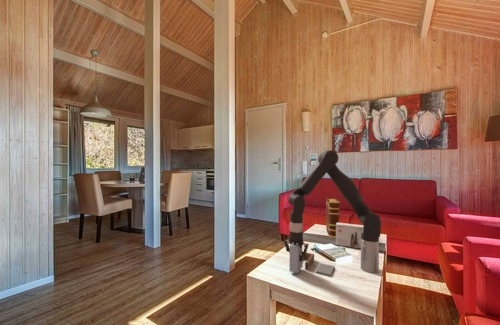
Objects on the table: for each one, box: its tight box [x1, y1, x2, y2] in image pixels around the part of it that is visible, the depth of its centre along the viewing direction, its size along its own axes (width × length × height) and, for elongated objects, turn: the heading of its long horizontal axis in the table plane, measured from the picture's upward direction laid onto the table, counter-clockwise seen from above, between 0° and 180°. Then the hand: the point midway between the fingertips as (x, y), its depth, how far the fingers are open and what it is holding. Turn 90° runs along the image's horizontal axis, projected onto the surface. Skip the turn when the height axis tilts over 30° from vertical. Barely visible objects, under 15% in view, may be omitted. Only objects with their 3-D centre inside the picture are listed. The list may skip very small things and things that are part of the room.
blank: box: [288, 244, 303, 274], centre depth 129 cm, size 4×9×14 cm, turn 151°
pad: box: [315, 262, 335, 277], centre depth 131 cm, size 8×12×1 cm, turn 151°
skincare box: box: [335, 222, 363, 249], centre depth 171 cm, size 21×6×16 cm, turn 68°
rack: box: [303, 252, 315, 271], centre depth 140 cm, size 10×16×4 cm
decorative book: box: [325, 197, 341, 239], centre depth 200 cm, size 22×8×30 cm, turn 168°
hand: (296, 260), depth 129 cm, fingers closed on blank, 4 cm apart
